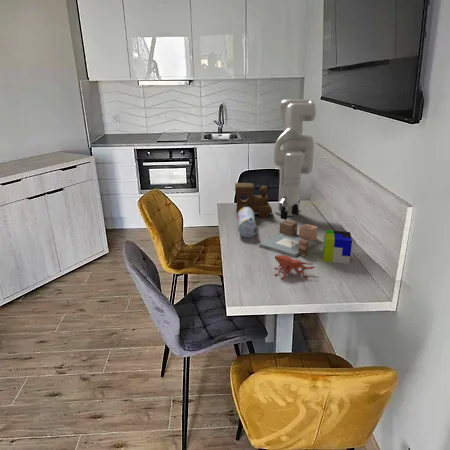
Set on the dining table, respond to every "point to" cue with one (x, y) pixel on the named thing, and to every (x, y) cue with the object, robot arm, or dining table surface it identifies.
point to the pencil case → (246, 222)
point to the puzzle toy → (337, 246)
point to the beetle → (290, 265)
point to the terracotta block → (308, 232)
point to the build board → (284, 244)
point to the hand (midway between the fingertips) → (289, 216)
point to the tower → (303, 247)
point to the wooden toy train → (253, 199)
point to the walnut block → (288, 227)
